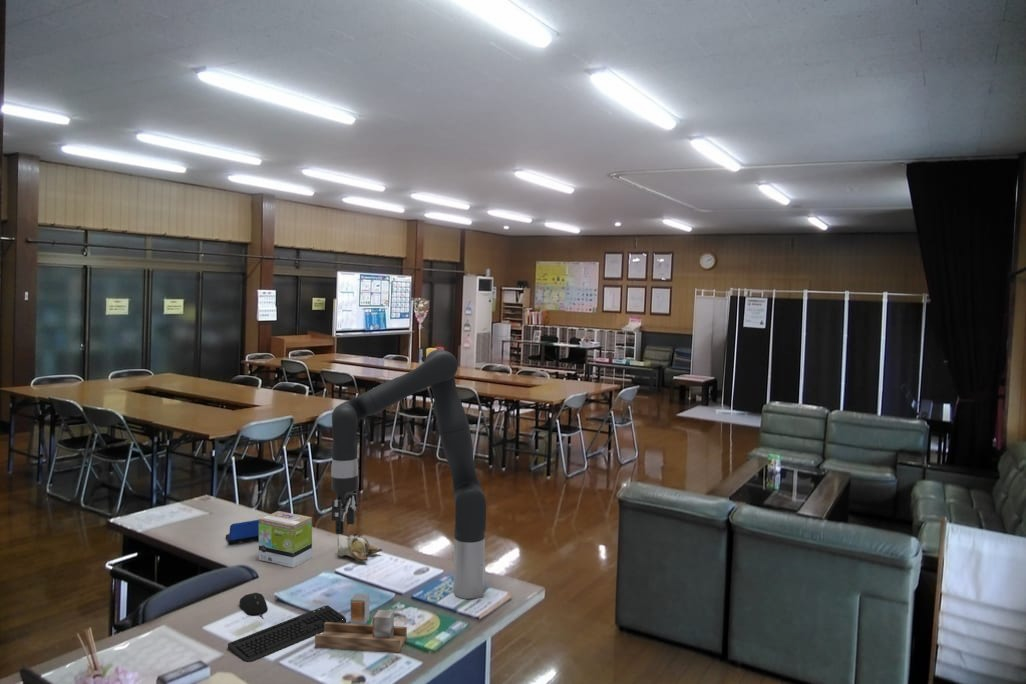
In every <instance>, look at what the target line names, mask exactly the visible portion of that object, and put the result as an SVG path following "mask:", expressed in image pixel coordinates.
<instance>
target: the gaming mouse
mask: <svg viewBox="0 0 1026 684" xmlns="http://www.w3.org/2000/svg"><path fill="white" fill-rule="evenodd" d="M239 607H240V609H242V610H243V612H244V613H245V614H246V615H247V616H250V617H253V616H259V617H260V618H261V619H262V620H264V619H265V618H264V617H263V614H265V613H266V614H267V612H268V610H269V609H268V605H267V601H266V599H265V597H264V595H263V594H262V593H259V592H252V593H248V594H244V595H243V596H242V597H240V599H239Z"/></svg>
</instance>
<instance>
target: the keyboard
mask: <svg viewBox="0 0 1026 684" xmlns="http://www.w3.org/2000/svg"><path fill="white" fill-rule="evenodd" d="M342 619H343V620H342ZM346 619H347V618H346V616H344V615H343V614H342V613H340V612H338V611H337V610H336V609H334V608H333V607H331V606H330V605H324V606H321V607H319V608H315V609H313V610H311V611H308V612H306V613H303V614H300V615H297V616H295V617H292V618H290V619H287V620H285V621H282V622H279V623H276V624H274V625H272V626H269V627H267V628H263V629H261V630H258V631H256V632H253V633H251V634H249V635H246V636H243V637H241V638H238V639H236V640H233V641H229V643H227V650H228V651H230V652H231V653H232V654H234V655H235V656H237V657H238V658H239V659H240V660H242V661H243V662H245V663H253V662H255V661H258V660H260V659H263V658H265V657H268V656H270V655H272V654H275V653H277V652H280V651H283V650H285V649H287V648H289V647H291V646H294V645H296V644H298V643H299V644H300V643H301V642H303V641H307V640H308V639H312V638H314V637H315V635H316V634H322V633H323V632H324V624H325V622H336V623H347V622H346Z"/></svg>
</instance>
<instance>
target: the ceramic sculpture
mask: <svg viewBox="0 0 1026 684" xmlns="http://www.w3.org/2000/svg"><path fill="white" fill-rule="evenodd" d="M337 549H338V551H337V553H338V556H339V557H345V556H348V557H350V558H352V559H354V560H356V561H357V562H366V561H368V557H367V555H368V554H369V555H373V554H377V553H380V552H382V551H383V549H382V548H379V549H378V548H377V547H375V546H374V545H373V544H370V543H369V540H367V538H365V537H364V536H359V535H358V533H353V534H350V535H349V536H347V535H345V534H337Z"/></svg>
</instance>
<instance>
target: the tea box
mask: <svg viewBox="0 0 1026 684" xmlns="http://www.w3.org/2000/svg"><path fill="white" fill-rule="evenodd" d="M258 520H259V540H258V560H259V561H264V562H268V563H272V564H275V565H281V566H284V567H288V568H293V569H294V568H295V567H297V566H300V565H301V564H303V563H305V562H307V561H309V560H310V559H311V558H312V557H313V516H307V515H303V514H302V515H301V514H296V513H290V512H287V511H281V510H280V511H279V510H277V511H275V512H272V513H271V514H267V515H266V516H264V517H261V518H258Z"/></svg>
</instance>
